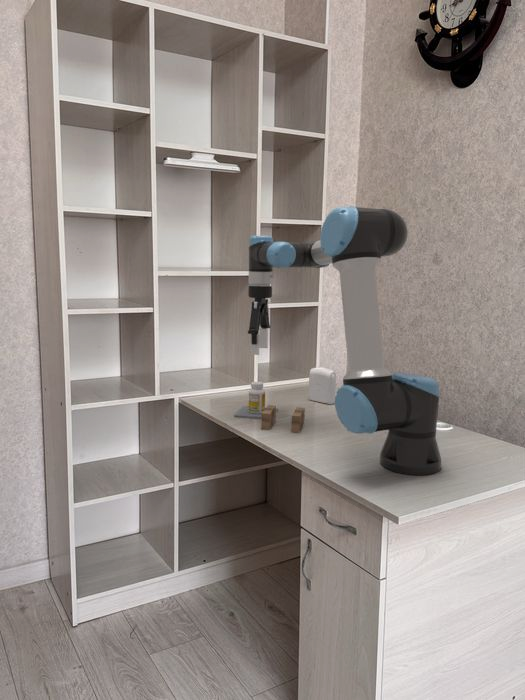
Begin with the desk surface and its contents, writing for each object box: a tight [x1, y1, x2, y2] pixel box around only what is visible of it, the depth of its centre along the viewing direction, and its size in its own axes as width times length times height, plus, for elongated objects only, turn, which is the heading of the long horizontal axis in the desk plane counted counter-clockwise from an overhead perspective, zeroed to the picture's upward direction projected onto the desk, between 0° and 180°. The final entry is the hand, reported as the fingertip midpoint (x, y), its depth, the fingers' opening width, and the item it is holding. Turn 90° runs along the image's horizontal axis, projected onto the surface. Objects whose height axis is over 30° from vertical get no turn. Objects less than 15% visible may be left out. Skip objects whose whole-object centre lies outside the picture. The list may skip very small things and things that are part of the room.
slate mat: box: [233, 405, 279, 420], centre depth 196 cm, size 12×12×1 cm
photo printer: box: [308, 366, 337, 405], centre depth 212 cm, size 10×4×12 cm, turn 47°
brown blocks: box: [260, 404, 306, 434], centre depth 182 cm, size 10×12×5 cm
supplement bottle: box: [248, 381, 266, 414], centre depth 195 cm, size 5×5×10 cm
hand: (259, 351), depth 192 cm, fingers open, 13 cm apart
